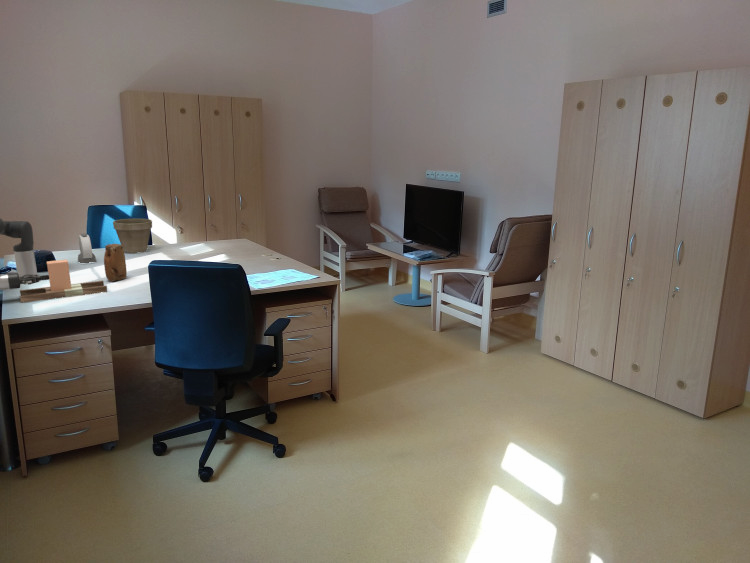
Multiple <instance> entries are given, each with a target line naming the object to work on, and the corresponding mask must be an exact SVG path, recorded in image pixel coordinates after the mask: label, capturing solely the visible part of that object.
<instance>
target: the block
mask: <svg viewBox="0 0 750 563" xmlns="http://www.w3.org/2000/svg"><path fill="white" fill-rule="evenodd" d="M104 249H105V252H104V257H103V265H104V274H105V277H106V279H107V280H108V282H116V281H121V280H124V279H126V278H127V264H126V263H127V262H126V256H125V252H124V250H123V245H121V243H112V244H111V243H109V244H106V245H105V248H104Z"/></svg>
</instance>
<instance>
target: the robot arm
mask: <svg viewBox="0 0 750 563" xmlns="http://www.w3.org/2000/svg"><path fill="white" fill-rule="evenodd" d="M33 232H34V231H33V226H32V224H31V222H29V221H26V220H20V221H19V220H17V221H16V220H11V221H9V220H7V221H5V220H3V219H2V218H0V235H2V236H4V237H5V236H6V237H9V238H11V239H20V243H18V244H15V245H13V246H12V248H13V254H14V261H15V267H16V268H15V269H16V272H14V273H5V274H4V273H3V274H0V291H6V290H7V291H8V290H15V289H16V290H17V289H20V288H21V285H28V286H30V285H33V284H37V283H40V282H41V281H47V280H48V281H49V274H44V275H39V274H38V271H37V264H36V257H35V250H34V244H35V242H34V234H33Z"/></svg>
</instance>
